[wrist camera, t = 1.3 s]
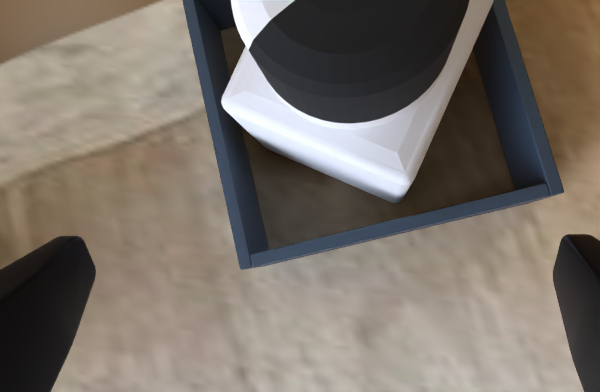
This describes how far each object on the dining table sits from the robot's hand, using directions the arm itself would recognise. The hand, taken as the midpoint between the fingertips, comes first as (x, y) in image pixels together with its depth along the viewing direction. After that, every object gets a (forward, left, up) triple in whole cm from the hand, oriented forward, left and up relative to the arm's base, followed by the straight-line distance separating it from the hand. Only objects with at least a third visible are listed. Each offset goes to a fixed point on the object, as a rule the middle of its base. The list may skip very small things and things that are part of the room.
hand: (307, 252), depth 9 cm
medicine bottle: (+6, +3, -14) cm, 16 cm away
